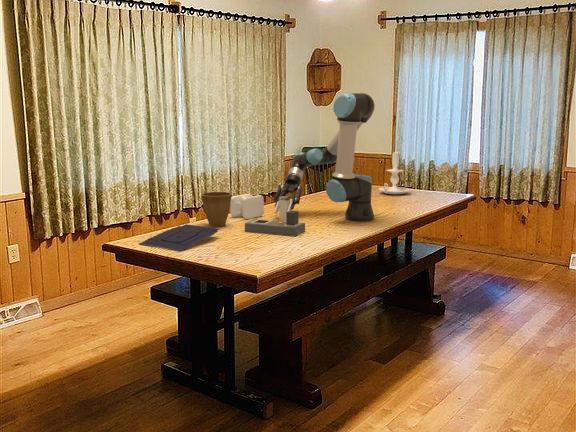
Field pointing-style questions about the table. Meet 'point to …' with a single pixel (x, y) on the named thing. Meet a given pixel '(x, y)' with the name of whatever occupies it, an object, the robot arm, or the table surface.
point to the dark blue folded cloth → (180, 237)
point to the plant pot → (216, 207)
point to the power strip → (277, 225)
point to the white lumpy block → (247, 206)
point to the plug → (283, 206)
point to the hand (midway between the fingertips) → (282, 213)
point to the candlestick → (394, 179)
